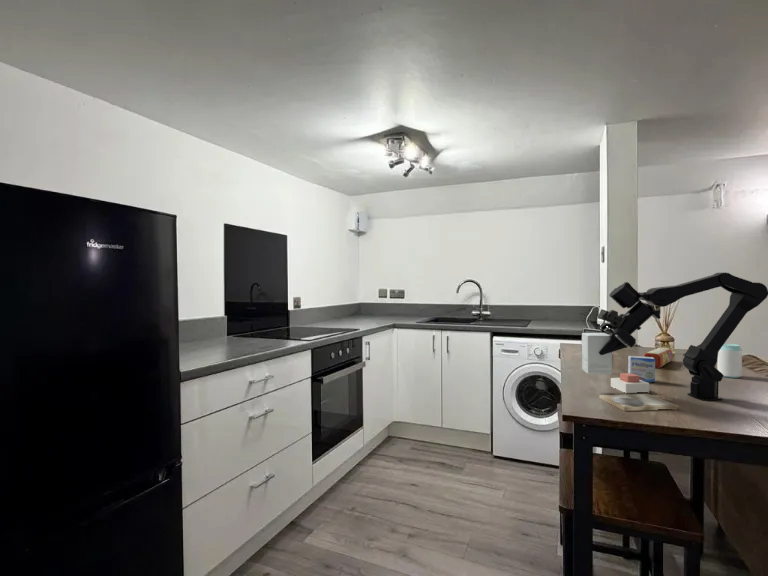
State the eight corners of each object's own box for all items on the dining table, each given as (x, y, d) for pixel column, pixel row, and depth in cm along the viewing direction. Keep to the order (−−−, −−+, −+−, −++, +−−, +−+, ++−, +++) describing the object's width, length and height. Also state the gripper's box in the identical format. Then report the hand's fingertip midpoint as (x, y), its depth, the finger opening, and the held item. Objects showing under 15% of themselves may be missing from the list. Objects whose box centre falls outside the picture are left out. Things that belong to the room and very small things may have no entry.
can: (746, 378, 155) (747, 346, 154) (727, 378, 155) (727, 346, 154) (731, 374, 162) (731, 343, 161) (712, 374, 162) (713, 343, 162)
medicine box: (629, 381, 152) (630, 357, 152) (627, 378, 156) (628, 355, 156) (655, 383, 149) (655, 358, 149) (652, 380, 153) (652, 356, 153)
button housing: (632, 386, 145) (633, 377, 145) (649, 392, 137) (649, 383, 137) (610, 386, 144) (610, 377, 144) (625, 393, 136) (625, 383, 136)
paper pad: (648, 397, 132) (648, 393, 132) (677, 409, 120) (677, 404, 120) (599, 398, 131) (599, 394, 131) (624, 410, 119) (624, 406, 119)
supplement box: (612, 375, 133) (612, 335, 133) (587, 374, 135) (587, 335, 134) (605, 370, 140) (605, 332, 140) (581, 369, 142) (581, 332, 142)
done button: (631, 381, 143) (631, 373, 143) (639, 384, 139) (639, 375, 139) (620, 382, 143) (620, 373, 142) (627, 385, 139) (627, 376, 138)
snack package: (656, 360, 190) (656, 345, 190) (673, 362, 185) (674, 347, 185) (642, 367, 175) (643, 351, 175) (661, 369, 170) (661, 353, 170)
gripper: (606, 299, 145) (571, 330, 148) (624, 302, 127) (584, 338, 129) (631, 322, 143) (596, 353, 146) (653, 329, 125) (612, 364, 128)
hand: (596, 351), depth 137 cm, fingers closed on supplement box, 7 cm apart
